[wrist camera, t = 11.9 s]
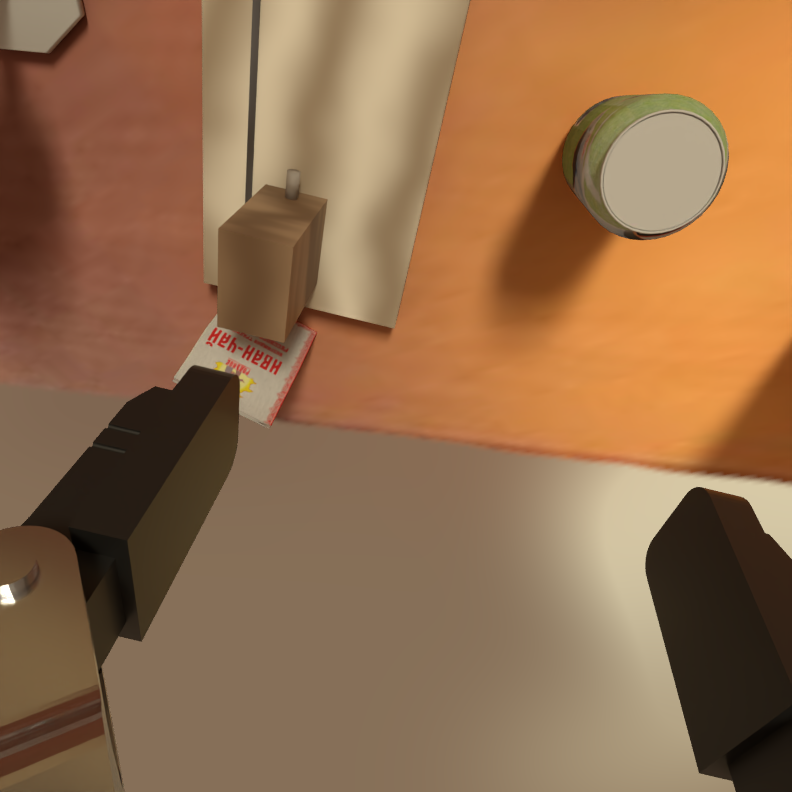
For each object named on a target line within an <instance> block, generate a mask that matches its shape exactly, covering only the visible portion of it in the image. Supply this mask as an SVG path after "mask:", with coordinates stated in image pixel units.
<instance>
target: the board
mask: <svg viewBox="0 0 792 792" xmlns="http://www.w3.org/2000/svg"><path fill="white" fill-rule="evenodd" d="M469 4H470V0H202V102H203V247H204V283H208V284H212V285H216V286H218V228H219V227H220V226H221V225H223V224H224V223H225V222H226V221H227V220H228V219H229V218H230V217H231V216H232V215H233V214H234V213H235V212H236V211H238V210H239V209H240V208H241V207H242V206H243V205H244V204H245V203H246V202H247V201H248V200H249V199H250V198H252V197H253V196H254V195H255V194H256V193H257V192H258V191H259V190H260V189H261V188H262V187H263V186H264V185H265V184H267V185H271V186H275V187H280V188H284V189H286V177H287V169H296V170H299V171H300V172H301V173H300V184H299V192H300V193H304V194H308V195H312V196H316V197H320V198H324V199H328V200H327V208H326V216H325V224H324V232H323V239H322V247H321V255H320V263H319V271H318V279H317V285H316V287H315V288H314V290H313V292H312V294H311V296H310V297H309V299H308V301H307V303H306V305H305V306H304V307H307V308H311V309H315V310H319V311H324V312H328V313H332V314H336V315H340V316H344V317H348V318H353V319H357V320H361V321H365V322H369V323H373V324H377V325H382V326H386V327H390V328H395V324H396V320H397V316H398V312H399V308H400V304H401V299H402V295H403V291H404V286H405V282H406V278H407V273H408V269H409V264H410V260H411V256H412V251H413V247H414V243H415V238H416V234H417V230H418V225H419V221H420V217H421V212H422V208H423V204H424V199H425V195H426V191H427V186H428V182H429V178H430V173H431V169H432V165H433V160H434V156H435V152H436V147H437V143H438V139H439V134H440V130H441V126H442V121H443V117H444V113H445V108H446V104H447V100H448V95H449V91H450V87H451V82H452V78H453V74H454V69H455V65H456V61H457V56H458V52H459V48H460V43H461V39H462V35H463V30H464V26H465V21H466V17H467V13H468V8H469Z"/></svg>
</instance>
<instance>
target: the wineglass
mask: <svg viewBox="0 0 792 792" xmlns="http://www.w3.org/2000/svg"><path fill="white" fill-rule="evenodd" d="M84 15H85V12H84V7H83V3H82V0H0V49H4V50H15V51H26V52H37V53H48V54H50V53H51V52H52V51H53V50H54V49H55V47H56V46H57V45H58V44H59V43H60V42H61V41H62V40H63V39H64V37H65V36H66V35H67V34H68V33H69V32H70V31H71V30H72V29H73V27H74V26H75V25H76V24H77V23H78V22H79V21H80V20H81V19H82V17H83V16H84Z"/></svg>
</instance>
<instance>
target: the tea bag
mask: <svg viewBox="0 0 792 792" xmlns="http://www.w3.org/2000/svg"><path fill="white" fill-rule="evenodd" d="M316 334H317V332H316V331H314V330H312V329H310V328H308V327H307V326H305V325H303V324H301V323H299V322H297V321H296V323H295V324H294V326H293V328H292V330H291V332H290V333H289V335H288V337H287V339H286V341H285V343H282V342H278V341H274V340H270V339H266V338H262V337H257V336H253V335H249V334H245V333H241V332H237V331H232V330H228V329H224V328H220V327H217V315H216V316H215V317H214V319H213V320H212V321H211V322H210V324H209V325H208V326H207V327H206V329H205V331H204V332H203V334H202V335H201V337H200V338H199V340H198V342H197V343H196V345H195V346H194V348H193V349H192V351H191V352H190V354H189V356H188V357H187V359H186V360H185V362H184V363H183V365H182V366H181V368H180V369H179V371H178V372H177V373H176V375H175V376H174V378H175V379H174V380H173V382H175V383H177V384H178V382H179V381H180V380H181V378H182V377H183V376H184V374H185V373H186V372H187V371H188V369H189V368H190V367H191V366H193V365H198V366H202V367H206V368H210V369H214V370H219V371H223V372H227V373H231V374H235V375H238V376H239V379H240V399H239V415H241V416H244V417H245V418H247V419H250V420H252V421H254V422H256V423H258V424H260V425H262V426H264V427H266V428H268V429H269V428H270V426H271V425H272V423H273V421H274V419H275V417H276V415H277V413H278V411H279V409H280V407H281V405H282V403H283V401H284V399H285V397H286V395H287V393H288V391H289V389H290V387H291V385H292V383H293V381H294V379H295V377H296V376H297V373H298V371H299V369H300V367H301V365H302V363H303V361H304V359H305V357H306V355H307V353H308V350H309V348H310V346H311V344H312V342H313V340H314V338H315V336H316Z"/></svg>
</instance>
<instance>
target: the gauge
mask: <svg viewBox="0 0 792 792" xmlns="http://www.w3.org/2000/svg"><path fill="white" fill-rule="evenodd" d="M300 173H301V172H300V171H299V170H296V169H287V177H286V189H284V188H280V187H275V186H271V185H267V184H265V185H264V186H263V187H262V188H261V189H260V190H259V191H258V192H257V193H256V194H255V195H254V196H253V197H252V198H250V199H249V200H248V201H247V202H246V203H245V204H244V205H243V206H242V207H241V208H240V209H239V210H238V211H236V212H235V213H234V214H233V215H232V216H231V217H230V218H229V219H228V220H227V221H226V222H225V223H224V224H223V225H221V226H220V227H219V228H218V294H217V327H220V328H224V329H228V330H232V331H237V332H241V333H245V334H249V335H253V336H257V337H262V338H266V339H270V340H274V341H278V342H282V343H285V341H286V339H287V337H288V335H289V333H290V332H291V330H292V328H293V326H294V324H295V323H296V321H297V319H298V317H299V315H300V314H301V312H302V310H303V308H304V306H305V305H306V303H307V301H308V299H309V297H310V296H311V294H312V292H313V290H314V288H315V287H316V285H317V279H318V271H319V263H320V255H321V247H322V239H323V232H324V224H325V216H326V208H327V200H328V199H324V198H320V197H316V196H312V195H308V194H304V193H300V192H299V184H300Z"/></svg>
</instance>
